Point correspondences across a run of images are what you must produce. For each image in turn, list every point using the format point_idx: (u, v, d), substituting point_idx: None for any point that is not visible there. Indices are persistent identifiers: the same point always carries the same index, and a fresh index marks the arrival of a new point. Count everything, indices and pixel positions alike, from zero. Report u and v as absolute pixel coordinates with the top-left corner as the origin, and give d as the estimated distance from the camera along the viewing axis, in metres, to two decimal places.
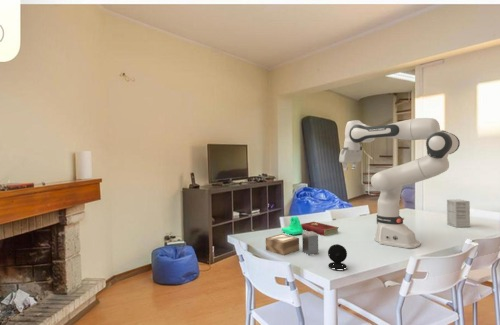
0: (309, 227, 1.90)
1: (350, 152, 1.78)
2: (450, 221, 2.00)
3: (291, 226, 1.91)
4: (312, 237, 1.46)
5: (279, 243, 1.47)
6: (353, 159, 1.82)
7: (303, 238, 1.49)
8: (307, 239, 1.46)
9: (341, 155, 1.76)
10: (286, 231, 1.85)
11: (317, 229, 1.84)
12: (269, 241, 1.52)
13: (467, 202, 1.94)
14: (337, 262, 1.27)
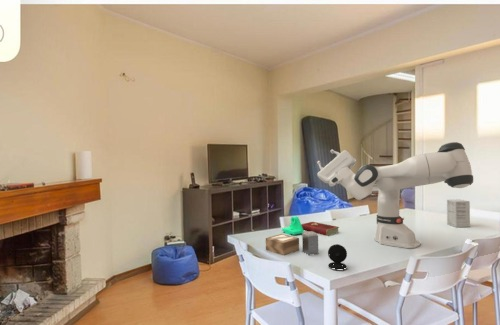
0: (310, 227, 1.89)
1: (344, 165, 1.56)
2: (450, 221, 2.00)
3: (291, 226, 1.91)
4: (312, 237, 1.46)
5: (279, 243, 1.47)
6: (332, 164, 1.57)
7: (303, 238, 1.49)
8: (307, 239, 1.46)
9: None
10: (286, 231, 1.85)
11: (318, 229, 1.84)
12: (269, 241, 1.52)
13: (467, 202, 1.94)
14: (337, 262, 1.27)
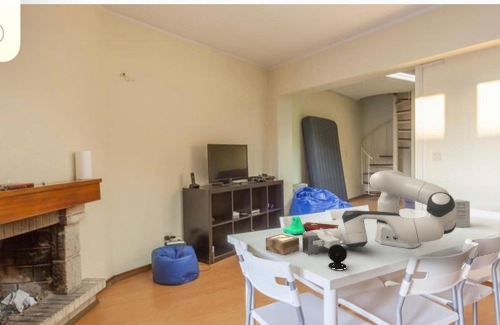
0: (312, 228, 1.88)
1: None
2: None
3: (292, 226, 1.91)
4: (312, 237, 1.46)
5: (279, 243, 1.47)
6: None
7: (303, 238, 1.49)
8: (307, 239, 1.46)
9: (336, 243, 1.42)
10: (288, 231, 1.86)
11: None
12: (269, 241, 1.52)
13: (467, 202, 1.94)
14: (337, 262, 1.27)
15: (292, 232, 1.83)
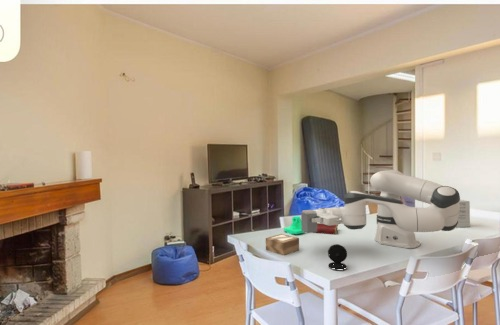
0: None
1: None
2: None
3: (293, 226, 1.92)
4: (311, 215, 1.45)
5: (279, 243, 1.47)
6: None
7: (302, 216, 1.49)
8: (306, 217, 1.45)
9: (335, 220, 1.42)
10: (288, 231, 1.86)
11: (325, 229, 1.84)
12: (269, 241, 1.52)
13: (467, 202, 1.94)
14: (337, 262, 1.27)
15: (293, 232, 1.83)
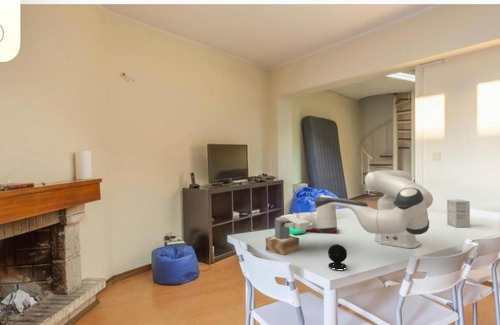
0: (315, 228, 1.87)
1: None
2: (450, 221, 2.00)
3: None
4: (283, 222, 1.51)
5: (279, 243, 1.47)
6: None
7: (275, 223, 1.55)
8: (278, 224, 1.51)
9: (305, 225, 1.48)
10: None
11: None
12: (269, 241, 1.52)
13: (467, 202, 1.94)
14: (337, 262, 1.27)
15: (293, 232, 1.83)
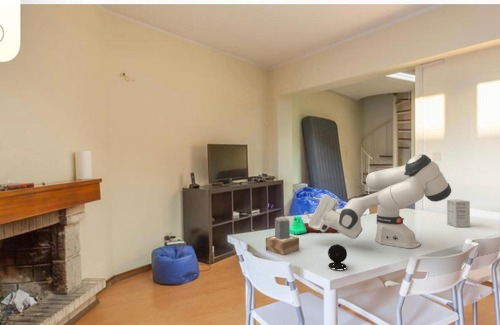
0: None
1: (329, 209, 1.62)
2: (450, 221, 2.00)
3: (294, 225, 1.92)
4: (283, 222, 1.51)
5: (279, 243, 1.47)
6: (317, 212, 1.64)
7: (275, 223, 1.55)
8: (278, 224, 1.51)
9: (331, 197, 1.64)
10: (290, 230, 1.87)
11: None
12: (269, 241, 1.52)
13: (467, 202, 1.94)
14: (337, 262, 1.27)
15: (294, 232, 1.83)
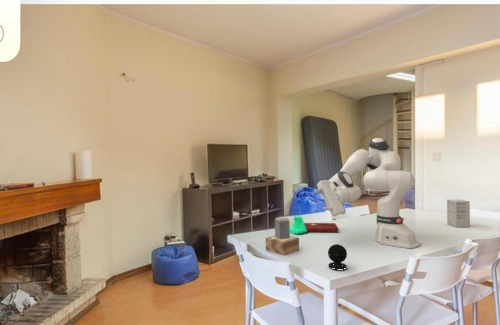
0: (316, 228, 1.87)
1: None
2: (450, 221, 2.00)
3: (294, 225, 1.92)
4: (283, 222, 1.51)
5: (279, 243, 1.47)
6: None
7: (275, 223, 1.55)
8: (278, 224, 1.51)
9: (340, 213, 1.59)
10: (290, 230, 1.87)
11: (328, 228, 1.86)
12: (269, 241, 1.52)
13: (467, 202, 1.94)
14: (337, 262, 1.27)
15: (294, 232, 1.84)
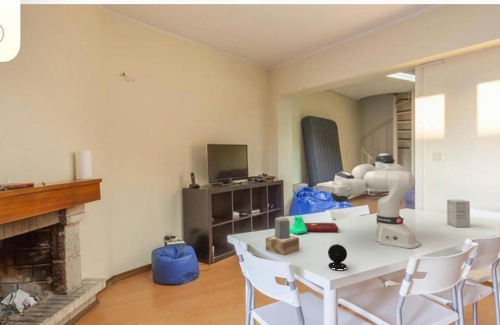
0: (316, 228, 1.87)
1: None
2: (450, 221, 2.00)
3: (295, 225, 1.93)
4: (283, 222, 1.51)
5: (279, 243, 1.47)
6: None
7: (275, 223, 1.55)
8: (278, 224, 1.51)
9: (344, 189, 1.55)
10: (290, 230, 1.87)
11: (328, 228, 1.87)
12: (269, 241, 1.52)
13: (467, 202, 1.94)
14: (337, 262, 1.27)
15: (294, 232, 1.84)
